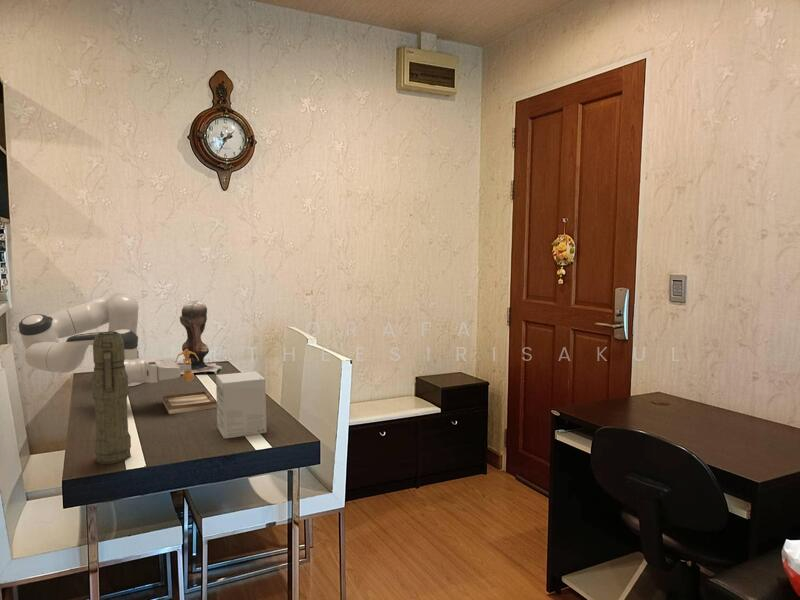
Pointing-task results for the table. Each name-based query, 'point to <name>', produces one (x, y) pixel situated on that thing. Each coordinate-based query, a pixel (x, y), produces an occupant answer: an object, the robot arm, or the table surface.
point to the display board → (188, 402)
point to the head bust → (196, 336)
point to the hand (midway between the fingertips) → (190, 365)
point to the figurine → (187, 375)
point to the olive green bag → (110, 399)
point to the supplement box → (241, 404)
